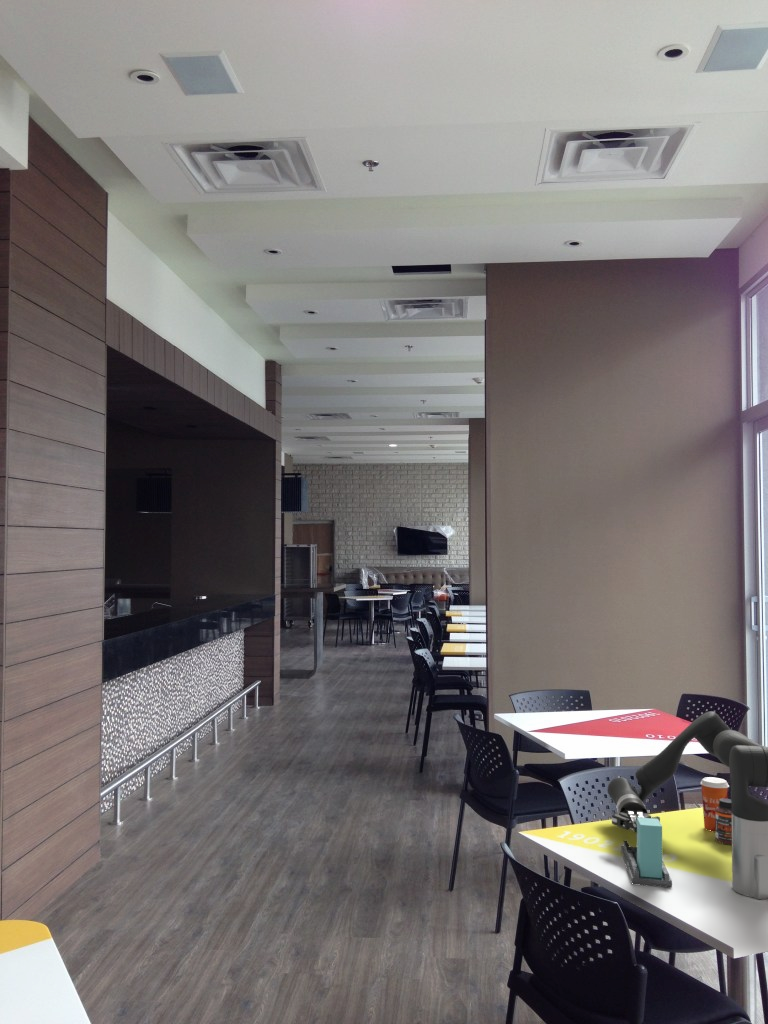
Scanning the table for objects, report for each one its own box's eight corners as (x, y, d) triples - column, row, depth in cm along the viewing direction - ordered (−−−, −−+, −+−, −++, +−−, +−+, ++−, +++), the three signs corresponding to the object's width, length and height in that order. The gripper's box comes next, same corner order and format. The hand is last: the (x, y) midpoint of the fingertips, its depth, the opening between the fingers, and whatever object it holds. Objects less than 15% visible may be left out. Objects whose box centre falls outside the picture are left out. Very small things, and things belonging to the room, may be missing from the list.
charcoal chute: (620, 851, 217) (620, 840, 217) (656, 854, 216) (656, 842, 216) (632, 884, 195) (632, 871, 195) (671, 887, 193) (671, 874, 193)
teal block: (636, 867, 201) (636, 817, 202) (658, 869, 200) (658, 818, 201) (640, 876, 195) (640, 824, 196) (662, 878, 195) (662, 826, 195)
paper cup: (697, 829, 237) (697, 780, 238) (704, 823, 243) (704, 775, 244) (726, 835, 232) (725, 785, 233) (732, 828, 239) (731, 779, 240)
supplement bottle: (715, 843, 225) (715, 801, 226) (714, 837, 231) (714, 796, 231) (739, 846, 223) (738, 804, 224) (738, 840, 229) (737, 798, 229)
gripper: (657, 826, 225) (667, 847, 208) (607, 823, 227) (613, 844, 210) (656, 798, 225) (667, 817, 208) (607, 795, 228) (613, 814, 211)
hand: (640, 830), depth 209 cm, fingers closed
